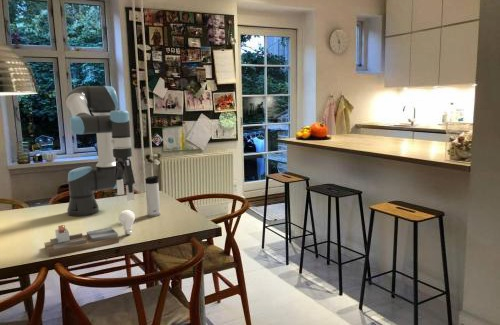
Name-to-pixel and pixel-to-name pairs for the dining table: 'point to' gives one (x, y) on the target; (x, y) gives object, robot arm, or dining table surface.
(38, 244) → the dining table surface
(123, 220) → the light bulb
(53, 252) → the press base
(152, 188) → the travel mug
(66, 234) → the ram slider
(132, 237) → the dining table surface
